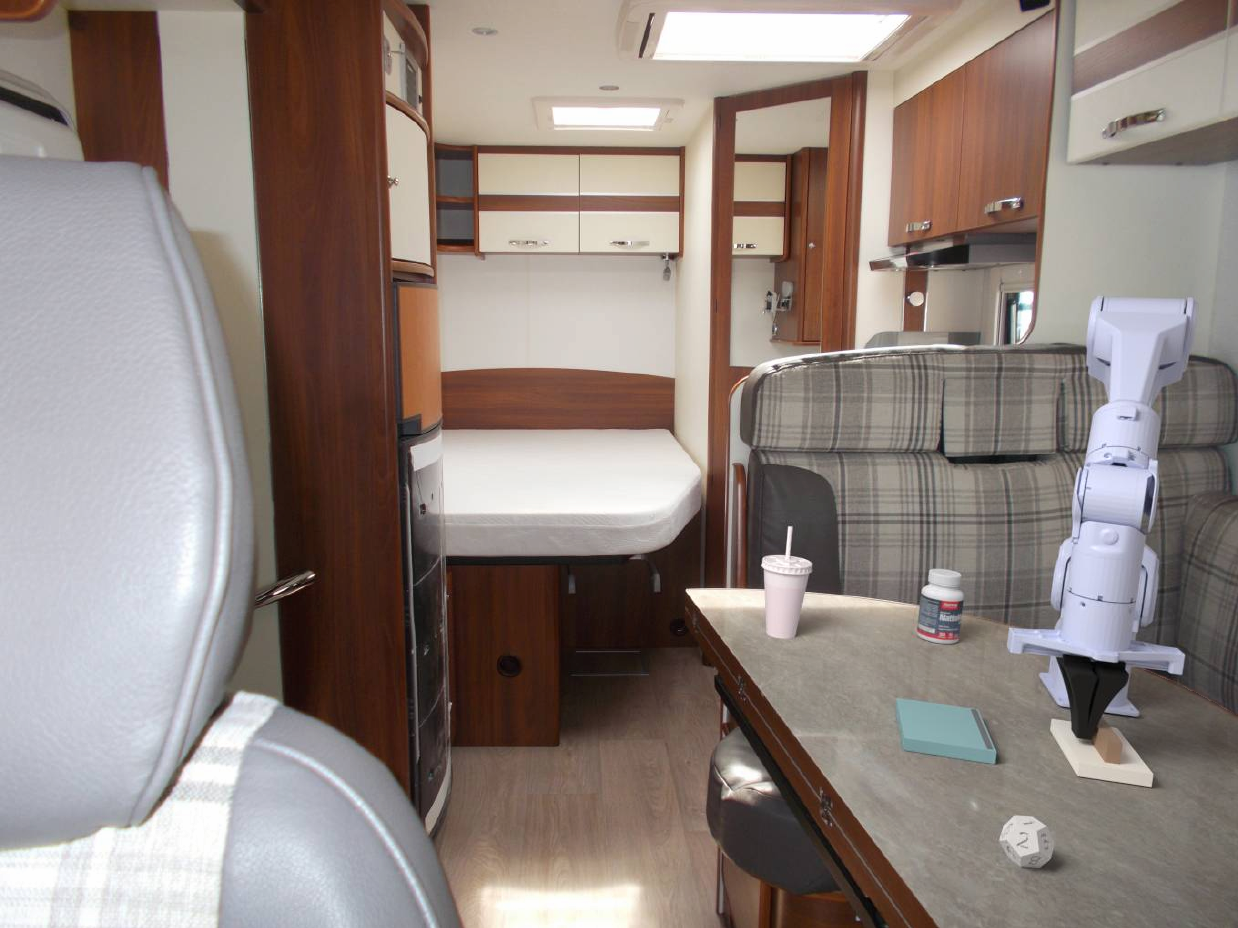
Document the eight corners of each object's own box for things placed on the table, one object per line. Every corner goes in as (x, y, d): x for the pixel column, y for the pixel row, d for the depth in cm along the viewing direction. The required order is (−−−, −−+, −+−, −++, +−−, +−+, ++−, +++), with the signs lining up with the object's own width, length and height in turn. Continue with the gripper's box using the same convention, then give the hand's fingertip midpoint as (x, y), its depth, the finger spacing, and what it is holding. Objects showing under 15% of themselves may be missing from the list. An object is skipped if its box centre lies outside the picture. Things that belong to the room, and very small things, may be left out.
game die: (987, 850, 67) (991, 812, 66) (1027, 844, 68) (1031, 807, 67) (1021, 877, 63) (1026, 838, 63) (1062, 871, 64) (1068, 832, 64)
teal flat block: (895, 708, 92) (896, 696, 92) (976, 720, 91) (978, 708, 90) (903, 750, 83) (904, 736, 82) (994, 764, 81) (996, 750, 81)
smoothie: (806, 629, 117) (816, 525, 115) (805, 645, 111) (815, 535, 109) (757, 623, 118) (766, 520, 116) (753, 638, 112) (762, 529, 110)
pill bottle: (938, 646, 113) (946, 578, 112) (907, 633, 118) (914, 568, 117) (967, 642, 116) (975, 576, 115) (936, 629, 120) (943, 566, 119)
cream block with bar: (1050, 730, 89) (1054, 699, 89) (1115, 739, 88) (1120, 708, 87) (1077, 775, 79) (1082, 741, 79) (1151, 786, 78) (1156, 752, 78)
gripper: (1025, 596, 79) (1007, 740, 81) (1207, 616, 76) (1183, 766, 78) (1010, 577, 86) (993, 710, 88) (1175, 595, 83) (1154, 733, 85)
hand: (1081, 734), depth 84 cm, fingers closed
